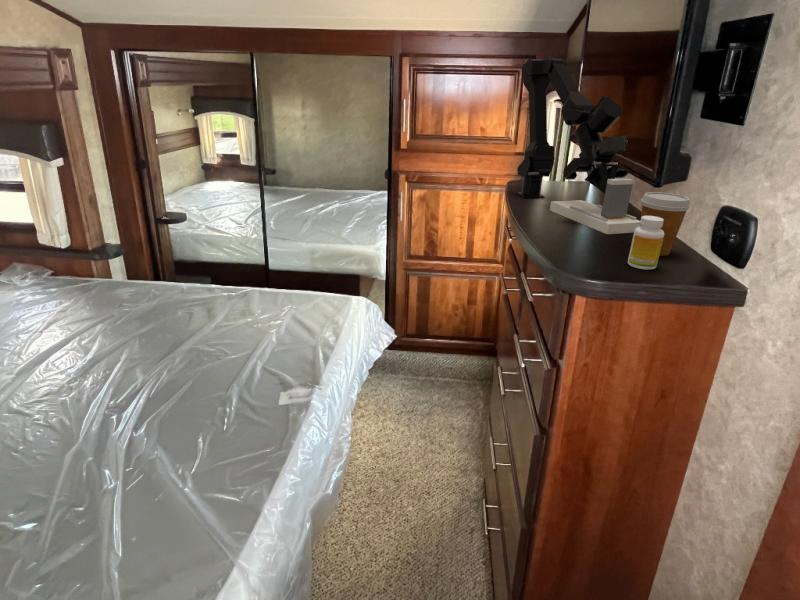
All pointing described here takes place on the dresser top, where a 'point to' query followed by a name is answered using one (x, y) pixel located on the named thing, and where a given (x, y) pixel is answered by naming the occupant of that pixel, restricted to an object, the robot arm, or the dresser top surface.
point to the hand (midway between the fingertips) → (611, 196)
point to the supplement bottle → (646, 243)
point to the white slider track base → (594, 217)
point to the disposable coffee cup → (666, 214)
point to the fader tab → (617, 197)
